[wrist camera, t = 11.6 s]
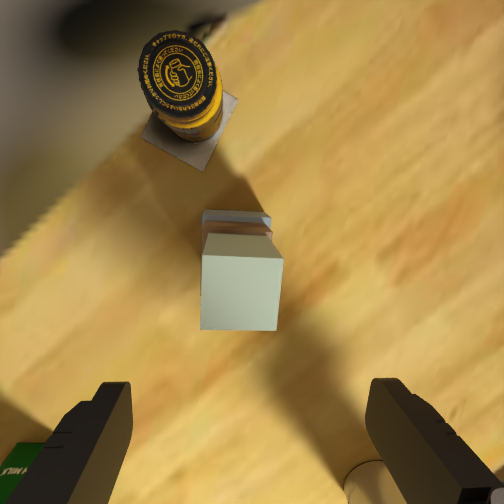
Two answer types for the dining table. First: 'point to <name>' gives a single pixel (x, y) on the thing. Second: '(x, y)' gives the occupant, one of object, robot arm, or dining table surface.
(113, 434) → the robot arm
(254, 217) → the tower base
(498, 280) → the dining table surface
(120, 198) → the dining table surface
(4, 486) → the milk carton
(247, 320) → the green block
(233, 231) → the tower top
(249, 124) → the dining table surface
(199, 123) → the condiment
